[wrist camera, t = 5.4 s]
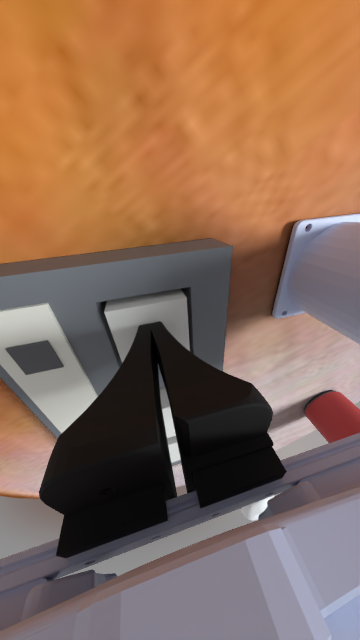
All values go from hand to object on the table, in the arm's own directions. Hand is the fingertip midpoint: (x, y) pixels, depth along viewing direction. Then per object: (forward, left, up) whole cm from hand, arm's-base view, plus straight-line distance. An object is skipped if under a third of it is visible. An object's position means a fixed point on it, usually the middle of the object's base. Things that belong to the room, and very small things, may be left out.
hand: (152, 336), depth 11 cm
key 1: (0, 0, -3) cm, 3 cm away
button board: (+2, +8, -3) cm, 9 cm away
